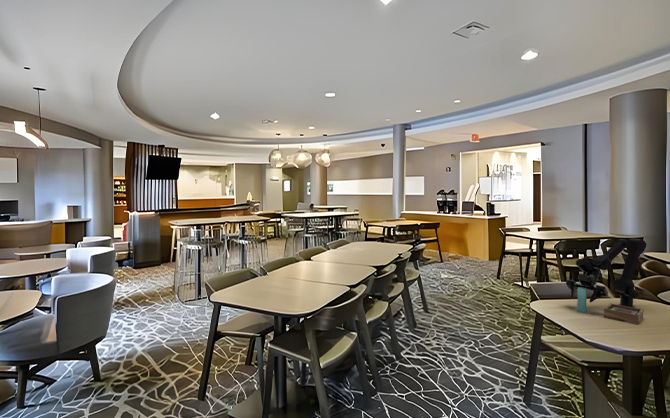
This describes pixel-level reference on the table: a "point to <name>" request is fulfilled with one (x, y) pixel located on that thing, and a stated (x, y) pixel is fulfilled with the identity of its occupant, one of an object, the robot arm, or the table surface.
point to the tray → (623, 313)
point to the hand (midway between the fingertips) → (580, 300)
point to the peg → (582, 299)
